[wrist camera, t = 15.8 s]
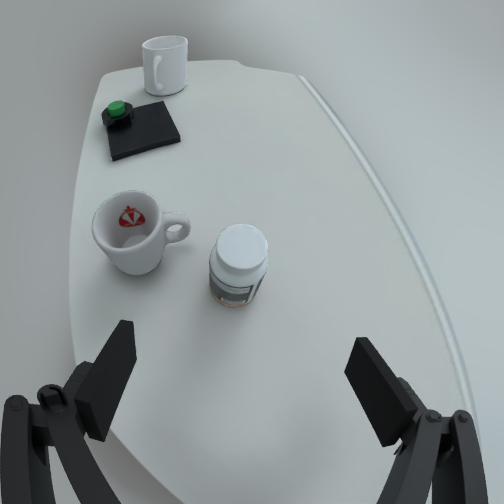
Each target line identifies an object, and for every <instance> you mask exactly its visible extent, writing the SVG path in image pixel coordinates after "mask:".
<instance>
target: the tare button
mask: <svg viewBox="0 0 504 504" xmlns="http://www.w3.org/2000/svg"><path fill="white" fill-rule="evenodd" d="M108 111H109V115H110V116H111V117H115V116H118V115H121V114H123V113H124V112H125V105H124V102H123V101H115V102H112V103H111V104H109V105H108Z"/></svg>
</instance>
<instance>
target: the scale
mask: <svg viewBox="0 0 504 504" xmlns="http://www.w3.org/2000/svg"><path fill="white" fill-rule="evenodd" d="M124 105H125V112H124V113H123V114H121V115H118V116H115V117H111V116H110V115H109V111H108V107H107V108H106V109H105V110H104V111H103V112H102V120H103V124H104V125H105V126H107V132H108V139H109V145H110V151H111V157H112V160H113V161H116V160H119V159H122V158H125V157H128V156H131V155H135V154H138V153H141V152H145V151H148V150H151V149H155V148H159V147H162V146H166V145H170V144H174V143H177V142H180V135H179V133H178V131H177V128H176V126H175V124H174V122H173V120H172V118H171V116H170V114H169V112H168V110H167V108H166V106H165V103H164V101H161V102H156V103H152V104H148V105H144V106H140V107H137V108H133V107H132V104H129V103H127V102H124Z"/></svg>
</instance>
